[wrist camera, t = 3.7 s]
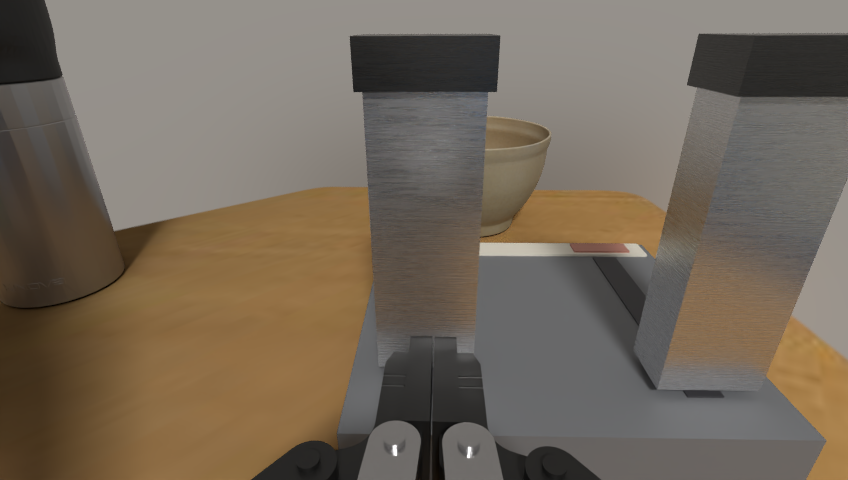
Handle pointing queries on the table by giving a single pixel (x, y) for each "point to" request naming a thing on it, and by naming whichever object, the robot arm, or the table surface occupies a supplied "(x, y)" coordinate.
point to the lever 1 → (425, 179)
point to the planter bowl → (510, 169)
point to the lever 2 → (745, 206)
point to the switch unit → (595, 376)
